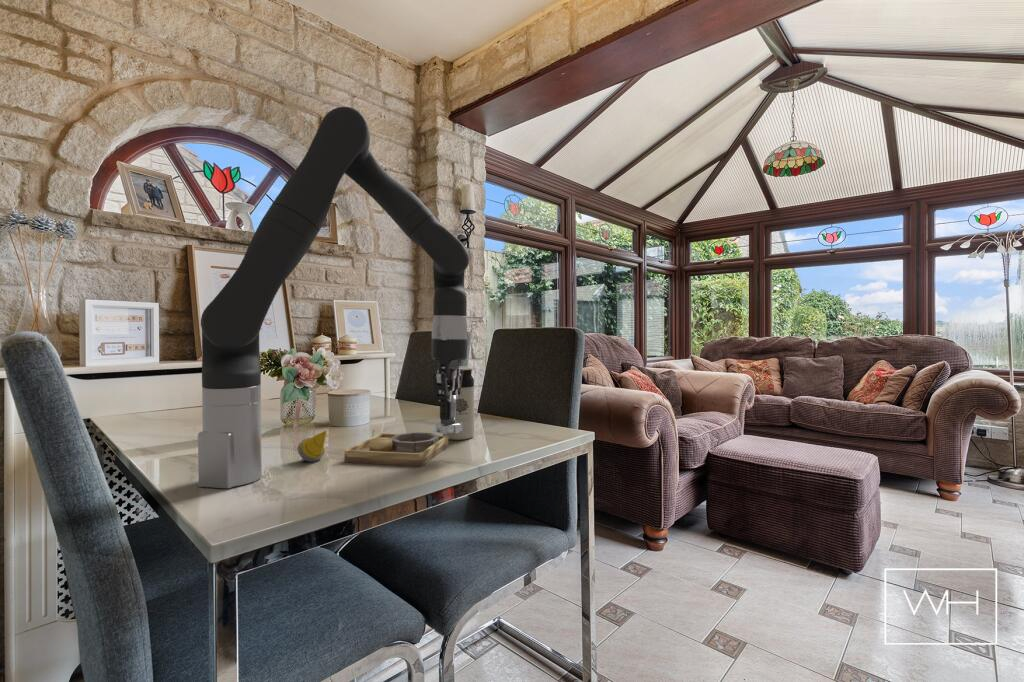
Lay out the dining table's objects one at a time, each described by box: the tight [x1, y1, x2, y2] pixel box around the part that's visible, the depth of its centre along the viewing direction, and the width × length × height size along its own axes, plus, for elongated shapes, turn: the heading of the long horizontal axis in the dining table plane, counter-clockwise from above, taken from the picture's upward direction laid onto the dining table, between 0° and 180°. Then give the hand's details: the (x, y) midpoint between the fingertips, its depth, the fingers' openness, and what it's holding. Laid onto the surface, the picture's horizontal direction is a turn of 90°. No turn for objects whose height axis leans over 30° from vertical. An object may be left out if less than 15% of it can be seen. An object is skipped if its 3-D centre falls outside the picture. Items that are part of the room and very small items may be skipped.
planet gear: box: [432, 395, 463, 435], centre depth 102 cm, size 6×6×8 cm
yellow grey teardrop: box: [297, 430, 327, 463], centre depth 100 cm, size 5×5×10 cm
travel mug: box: [442, 365, 475, 441], centre depth 123 cm, size 8×8×18 cm
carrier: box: [343, 431, 449, 467], centre depth 106 cm, size 17×17×4 cm
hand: (448, 417), depth 102 cm, fingers closed on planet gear, 3 cm apart
